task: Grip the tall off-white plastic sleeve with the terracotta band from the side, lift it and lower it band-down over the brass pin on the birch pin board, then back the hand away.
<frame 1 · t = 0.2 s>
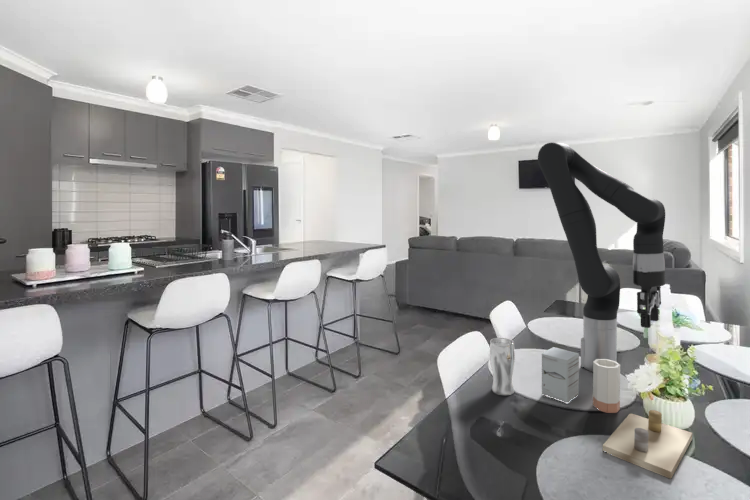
hand: (649, 323, 111), 17 cm above the table, tool pointing down, fingers open, 8 cm apart
supplement box: (560, 396, 108), on the table
pin board: (648, 445, 84), on the table
sleeve: (606, 407, 101), on the table
beer glass: (502, 391, 112), on the table
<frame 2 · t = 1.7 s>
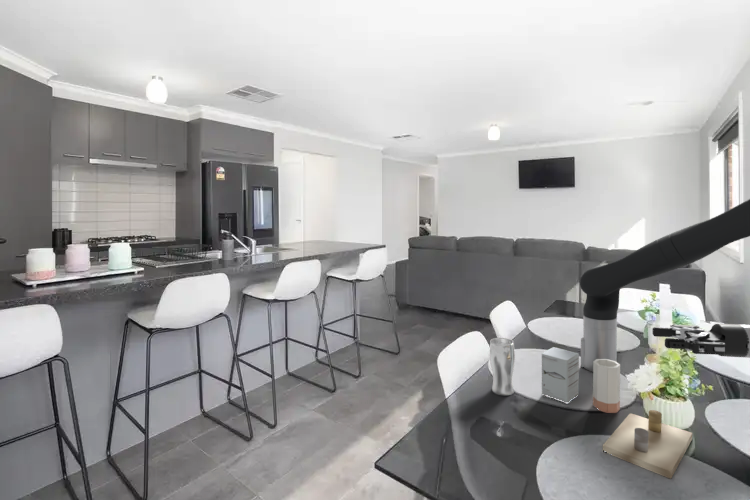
hand: (658, 337, 95), 20 cm above the table, tool horizontal, fingers open, 8 cm apart
nothing on the table moved.
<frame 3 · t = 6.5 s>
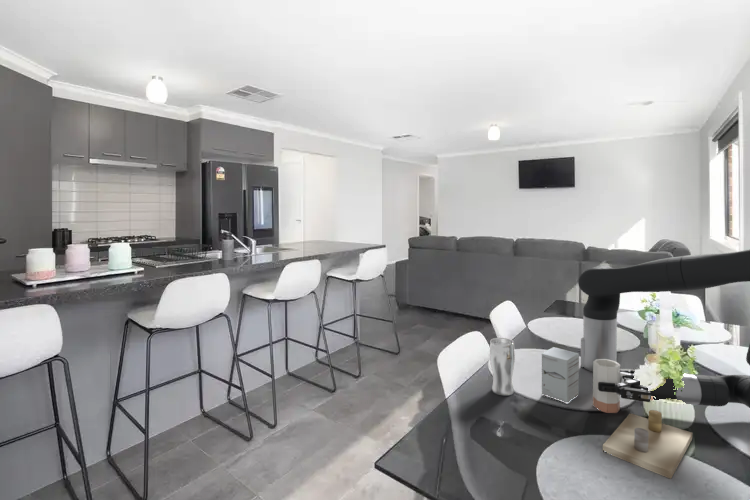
hand: (595, 380, 101), 7 cm above the table, tool horizontal, fingers closed on sleeve, 6 cm apart
sleeve: (606, 407, 100), on the table, touching gripper
everything else where it was.
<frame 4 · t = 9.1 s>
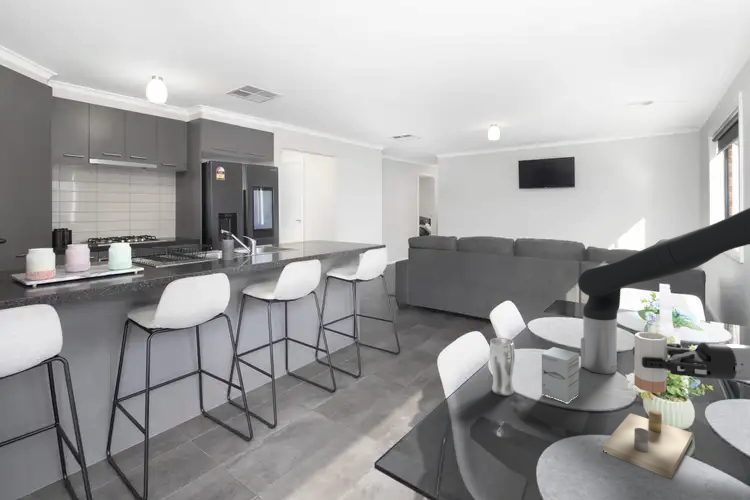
hand: (638, 356, 88), 18 cm above the table, tool horizontal, fingers closed on sleeve, 6 cm apart
sleeve: (650, 386, 88), point 11 cm above the table, touching gripper
everything else where it was.
when the fingers open (10 cm above the table, at t = 12.2 s): sleeve drops 1 cm, resting on pin board.
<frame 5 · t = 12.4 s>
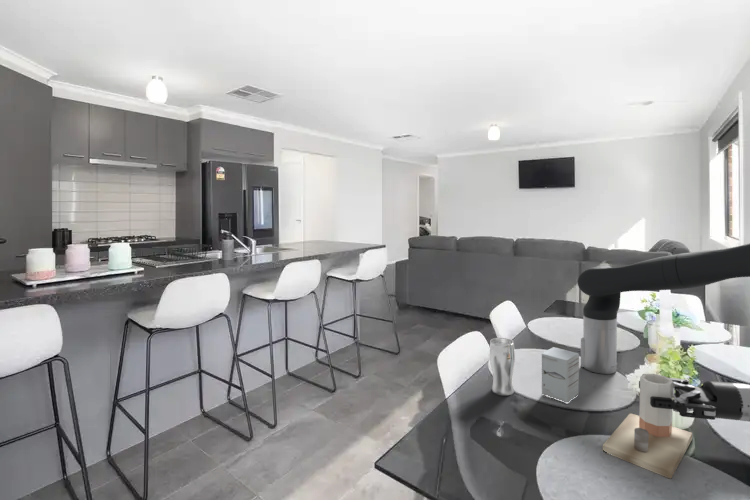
hand: (644, 393, 87), 10 cm above the table, tool horizontal, fingers open, 7 cm apart
sleeve: (655, 429, 87), point 1 cm above the table, touching pin board
everything else where it was.
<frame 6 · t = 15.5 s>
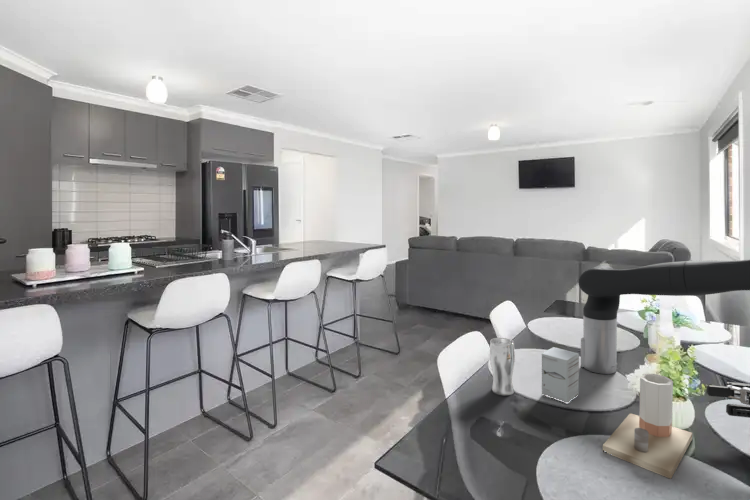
hand: (716, 399, 83), 10 cm above the table, tool horizontal, fingers open, 8 cm apart
nothing on the table moved.
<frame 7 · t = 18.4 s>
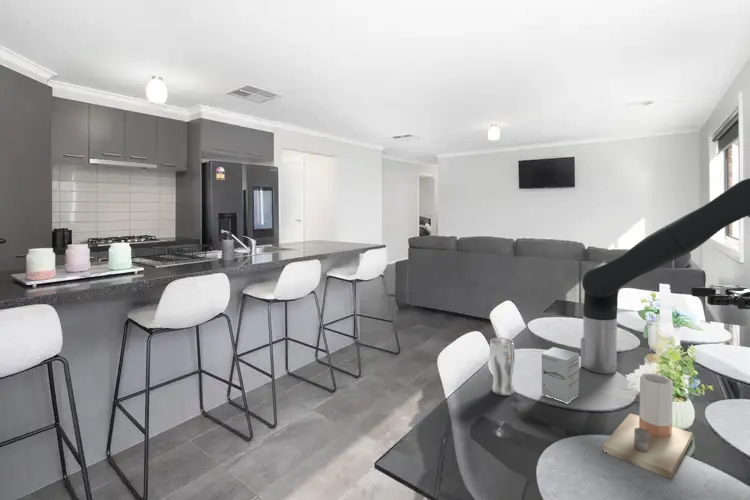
hand: (699, 295, 92), 30 cm above the table, tool horizontal, fingers open, 8 cm apart
nothing on the table moved.
at the end: sleeve 0.1 cm from the target spot on the pin board, point 1.5 cm above the pin board's base; sleeve tilted 0°; the gripper is holding nothing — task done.
